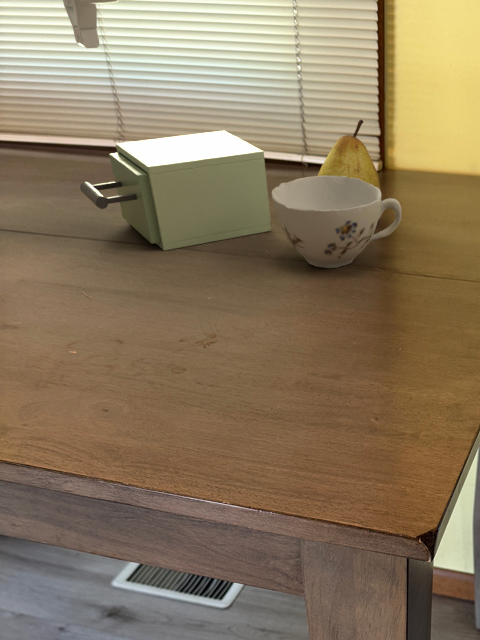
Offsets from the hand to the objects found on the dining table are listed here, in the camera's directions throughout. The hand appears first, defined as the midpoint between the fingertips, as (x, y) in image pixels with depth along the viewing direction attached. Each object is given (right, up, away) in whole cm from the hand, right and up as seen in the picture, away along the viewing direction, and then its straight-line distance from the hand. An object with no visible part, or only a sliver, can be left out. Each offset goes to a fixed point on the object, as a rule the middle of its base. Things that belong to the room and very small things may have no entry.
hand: (88, 46), depth 83 cm
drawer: (+4, -13, +15) cm, 21 cm away
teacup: (+27, -20, +9) cm, 35 cm away
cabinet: (+8, -13, +17) cm, 23 cm away
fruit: (+27, -11, +20) cm, 36 cm away
